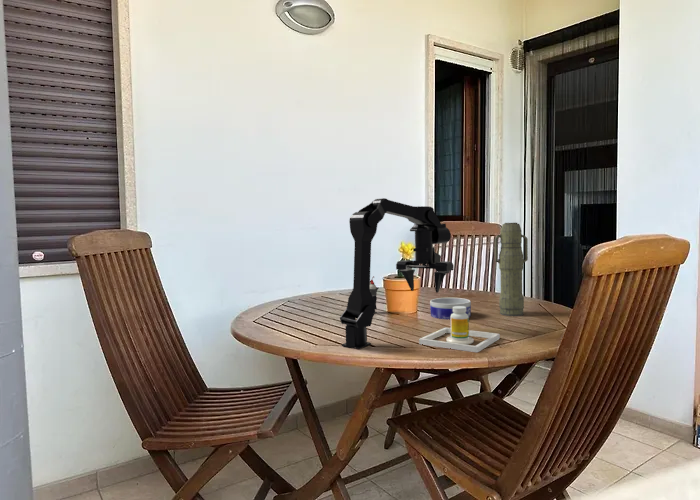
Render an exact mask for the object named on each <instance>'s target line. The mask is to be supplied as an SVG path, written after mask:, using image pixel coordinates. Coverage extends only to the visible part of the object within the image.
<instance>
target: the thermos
mask: <svg viewBox="0 0 700 500" xmlns="http://www.w3.org/2000/svg"><path fill="white" fill-rule="evenodd" d="M522 238H523V247H522ZM499 239H500V252H499V250H498V249H499V248H498V247H499V245H498V240H499ZM528 241H529V240H528V238H527V237H526V235H525V234H522V227H521V225H520V223H518V222H504V223H503V224H502V225H501V229H500V234H497V235H496V236H495V237H494V262H496V263H497V264H498V265H499V267H498V268H499V272H500V293H499V297H498V298H499V299H498V300H499V314H500V315H501V316H505V317H507V316H508V317H520V316H523V315H524V308H525V297H524V294H523V271H524V264H525V263H526V262H527V261H528V260H529V259H528V254H529V251H528V249H529V248H528ZM522 248H523V249H522ZM523 251H524V252H523Z"/></svg>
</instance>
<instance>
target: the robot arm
mask: <svg viewBox="0 0 700 500" xmlns="http://www.w3.org/2000/svg"><path fill="white" fill-rule="evenodd" d="M385 214H389V215H392V216H395V217H396V216H397V217H401V218H404V219H406V220H408V222H410V223H413V226H411V228H410V229H409V231H410V232H414V247H413V248H412V251H413V252H414V253H415V254H414V256H415V258H414V260H408V259H407V260H398V261H397V262H396V264H395V270H399V273H400V274H402V275H403V277H404V279H405V281H406V282H407V285H408V286H409V289H410V291H411V292H413V291H414V290H415V280H414V279H415V278H414V274H415V271H416V270H415V269H426V270H428V269H429V270H430V269H431V270H432V269H433V270H435V272H433V275H434V276H433V277H434V290H435V293H436V294H437V293H439V291H440V289H441V285H442V283H443V280H444V279H445V276H446V275H447V274H449V273H450V271H454V269H455V268H454V264H453V261H442V260H441V258H442V255H440V254H439V253H437V252H436V251H435V249H436V248H435V247H433V245H440V244H447V243H448V242H450V240H451V237H452V235H451V231H450V229H449V228H448V227H447V224H446V223H441V221H440V219H439V218H438V216H437V214H436V212H435V209H434V208H433V207H432V206H421V205H420V206H419V205H418V206H413V205H408V204H406V203H401V202H398V201H393V200H390V199H389V198H383V197H382V198H375V199H374V200H372V201H371V202H370V203H369V204H367V205H366V206H364V207H363V208H362V207H361V209H359V210H358V211H356V212H354V213H352V214H351V216H350V217H349V220H348V221H349V230H350V234H351V236H352V238H353V241H354V254H353V255H354V256H353V259H354V260H353V287H352V290H351V292H350V294H349V296H348V298H347V303H346V304H347V305H346V308H345V310H344V311H343V312H342V313H341V315H340V316H339V320H340V324H342V325H345V342H344V343H341V347H345V348H351V349H358V350H361V349H363V348H364V347H368V346H370V345H372V342H371V341H370V342H369V341H368V330H367V329H368V327H371V326H372V322H373V318H374V316H375V312H376V310H377V309H378V308H377V299H378V298H377V295H376V296H375V295H372V294H371V291H370V281H371V261H372V260H371V259H372V257H371V255H372V242H373V239H374V237H375V235H376V234H377V230H378V224H379V223H380V222H382V220H383V219H384V217H385V216H386V215H385Z"/></svg>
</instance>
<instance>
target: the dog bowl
mask: <svg viewBox="0 0 700 500" xmlns="http://www.w3.org/2000/svg"><path fill="white" fill-rule="evenodd" d="M454 306H464V307H466V312H465V313H466V314H468V316H469V318H470V317H471V312H472V309H471V308H472V301H471V300H470V299H467V298H461V297H437V298H433V299H430V301H429V308H430V309H429V310H430V311H429V312H430V317H431V318H435V319H438V318H439V320H448V319H449V320H450V317H451V314H453V313H454V312H453V307H454Z"/></svg>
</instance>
